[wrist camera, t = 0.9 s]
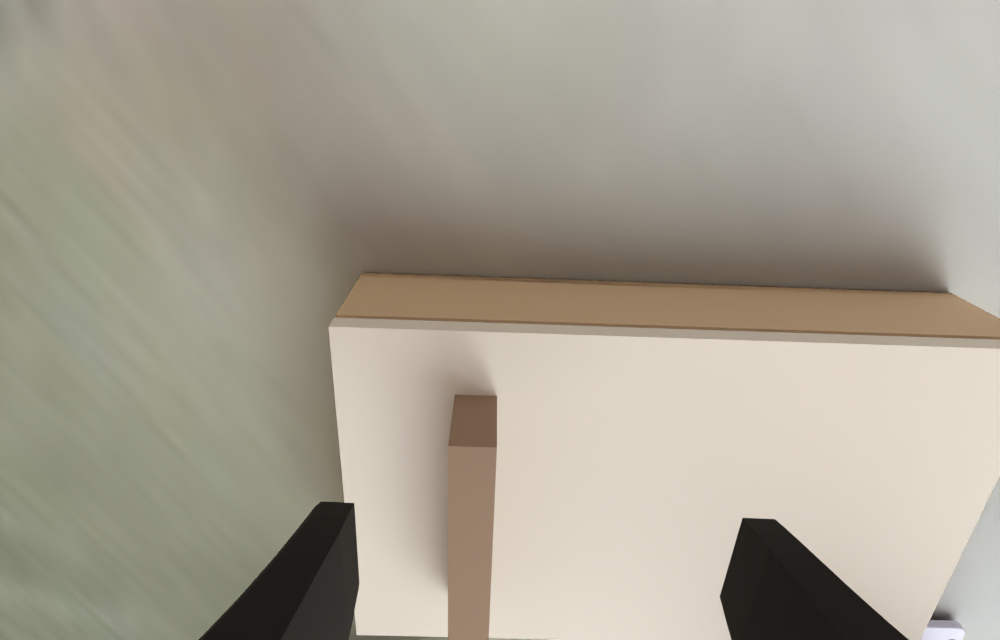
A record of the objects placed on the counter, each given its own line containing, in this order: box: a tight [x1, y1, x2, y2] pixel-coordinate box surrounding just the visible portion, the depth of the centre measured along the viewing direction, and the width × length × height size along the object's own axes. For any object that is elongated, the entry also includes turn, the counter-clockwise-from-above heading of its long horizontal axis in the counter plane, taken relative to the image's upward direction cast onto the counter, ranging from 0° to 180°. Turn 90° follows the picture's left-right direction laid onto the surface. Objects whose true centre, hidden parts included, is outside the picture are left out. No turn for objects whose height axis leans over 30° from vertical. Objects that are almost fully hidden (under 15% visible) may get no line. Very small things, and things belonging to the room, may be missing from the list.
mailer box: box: [336, 272, 1000, 340], centre depth 21 cm, size 12×20×4 cm, turn 88°
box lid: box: [328, 318, 1000, 640], centre depth 18 cm, size 12×20×3 cm, turn 88°
